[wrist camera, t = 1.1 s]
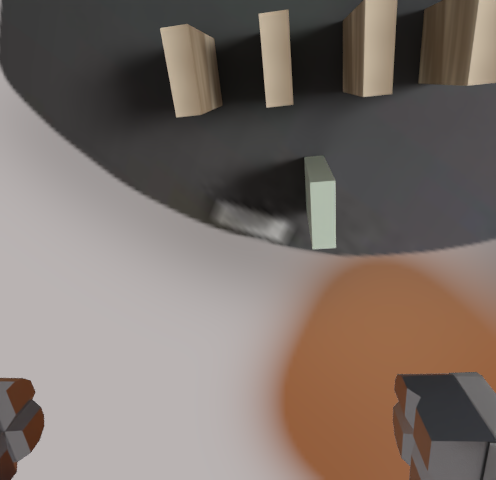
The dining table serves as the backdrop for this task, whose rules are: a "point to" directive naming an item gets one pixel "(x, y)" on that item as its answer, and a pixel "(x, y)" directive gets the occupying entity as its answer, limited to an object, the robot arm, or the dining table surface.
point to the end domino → (320, 202)
